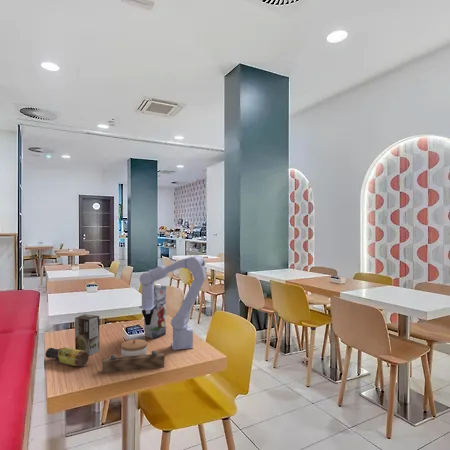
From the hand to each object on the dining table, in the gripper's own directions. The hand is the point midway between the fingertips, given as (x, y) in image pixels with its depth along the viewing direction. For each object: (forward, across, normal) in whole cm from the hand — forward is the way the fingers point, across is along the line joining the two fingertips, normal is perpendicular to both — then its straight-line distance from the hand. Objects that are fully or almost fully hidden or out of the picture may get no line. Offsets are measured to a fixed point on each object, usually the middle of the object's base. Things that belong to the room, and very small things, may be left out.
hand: (147, 324), depth 163 cm
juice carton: (+10, -12, +4) cm, 16 cm away
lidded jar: (+10, +20, -6) cm, 23 cm away
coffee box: (+10, +3, -27) cm, 29 cm away
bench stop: (+9, +26, -6) cm, 29 cm away
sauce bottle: (+6, +20, -26) cm, 33 cm away
